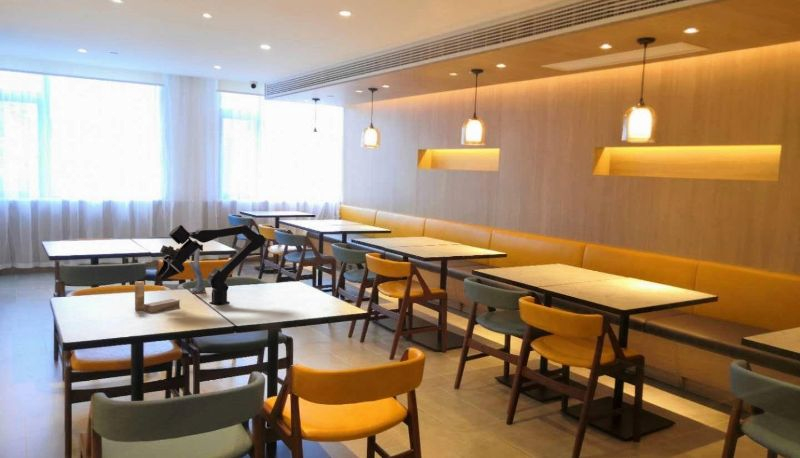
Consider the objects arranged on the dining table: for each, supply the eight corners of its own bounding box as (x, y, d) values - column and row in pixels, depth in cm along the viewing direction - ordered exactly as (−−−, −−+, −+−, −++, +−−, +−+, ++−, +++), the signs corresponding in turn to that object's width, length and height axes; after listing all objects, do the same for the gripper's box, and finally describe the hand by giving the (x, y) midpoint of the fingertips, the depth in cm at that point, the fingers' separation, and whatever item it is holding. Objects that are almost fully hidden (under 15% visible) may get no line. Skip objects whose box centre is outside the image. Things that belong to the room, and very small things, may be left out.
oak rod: (146, 309, 245) (146, 281, 244) (138, 311, 242) (138, 283, 241) (140, 308, 247) (140, 280, 246) (133, 310, 244) (133, 282, 243)
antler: (206, 293, 283) (206, 243, 281) (189, 294, 280) (189, 243, 278) (204, 289, 293) (204, 240, 291) (188, 289, 290) (188, 240, 288)
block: (179, 307, 252) (179, 300, 252) (151, 312, 240) (151, 305, 240) (171, 305, 255) (171, 298, 254) (144, 311, 243) (144, 304, 242)
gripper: (168, 236, 257) (141, 262, 252) (176, 241, 241) (148, 268, 236) (186, 253, 262) (160, 278, 257) (196, 259, 246) (168, 286, 241)
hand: (159, 277), depth 248 cm, fingers open, 9 cm apart
